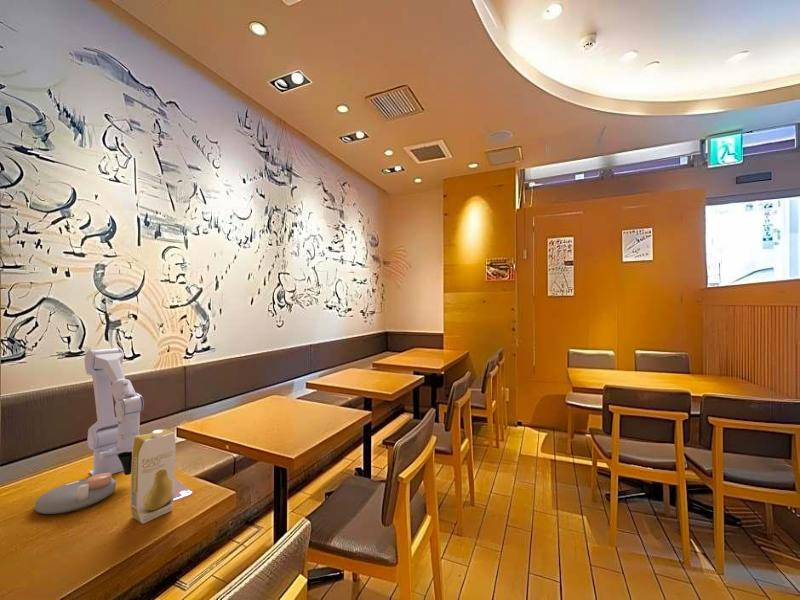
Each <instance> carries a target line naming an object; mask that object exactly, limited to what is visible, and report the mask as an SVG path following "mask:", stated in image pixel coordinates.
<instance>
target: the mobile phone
mask: <svg viewBox="0 0 800 600" xmlns="http://www.w3.org/2000/svg"><path fill="white" fill-rule="evenodd" d="M191 494H192V495H193V491H192V490H191V489H190V488H188V487H187V486H186V485H185V484H183V482H182V481H180V480H179V479H178V478H175V483H174V501H173V503H174V502H177V501H178V500H179V501H180V500H181V499H184V498H187V497H189V496H191Z"/></svg>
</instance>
